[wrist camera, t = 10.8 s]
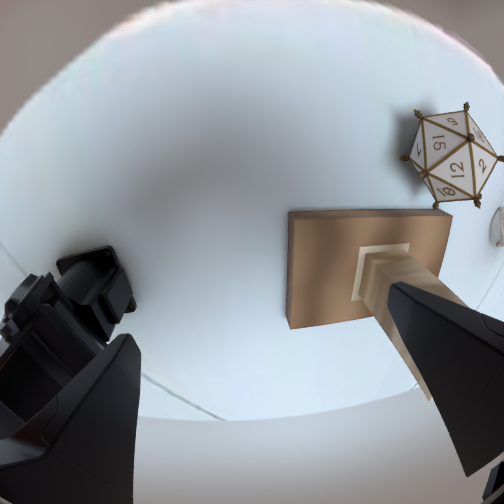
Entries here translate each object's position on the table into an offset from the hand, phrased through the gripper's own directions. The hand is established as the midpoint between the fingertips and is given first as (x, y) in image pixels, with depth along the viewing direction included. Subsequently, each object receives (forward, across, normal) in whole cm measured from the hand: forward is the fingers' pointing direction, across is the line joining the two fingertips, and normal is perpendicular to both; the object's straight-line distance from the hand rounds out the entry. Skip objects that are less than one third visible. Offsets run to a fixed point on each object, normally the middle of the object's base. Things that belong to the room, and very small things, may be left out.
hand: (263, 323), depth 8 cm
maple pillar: (+11, -11, +7) cm, 17 cm away
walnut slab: (+13, -11, +7) cm, 18 cm away
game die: (+13, -17, -3) cm, 22 cm away
